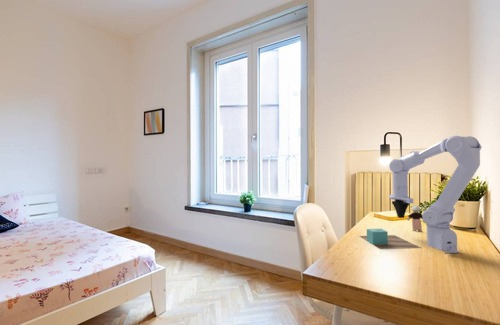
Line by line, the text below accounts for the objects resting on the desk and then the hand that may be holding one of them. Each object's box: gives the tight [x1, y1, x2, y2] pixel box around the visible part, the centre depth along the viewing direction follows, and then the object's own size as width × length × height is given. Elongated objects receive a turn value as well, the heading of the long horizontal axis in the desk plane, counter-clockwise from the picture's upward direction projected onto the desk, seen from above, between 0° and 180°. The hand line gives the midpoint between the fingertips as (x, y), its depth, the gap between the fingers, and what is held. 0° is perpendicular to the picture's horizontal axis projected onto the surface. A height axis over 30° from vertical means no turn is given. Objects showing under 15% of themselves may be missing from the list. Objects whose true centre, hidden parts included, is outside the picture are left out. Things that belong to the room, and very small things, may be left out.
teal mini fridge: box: [366, 228, 389, 246], centre depth 107 cm, size 5×6×5 cm
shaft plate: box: [359, 234, 422, 250], centre depth 108 cm, size 18×16×4 cm
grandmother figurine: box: [406, 205, 424, 233], centre depth 127 cm, size 8×4×13 cm, turn 84°
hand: (400, 217), depth 115 cm, fingers closed
